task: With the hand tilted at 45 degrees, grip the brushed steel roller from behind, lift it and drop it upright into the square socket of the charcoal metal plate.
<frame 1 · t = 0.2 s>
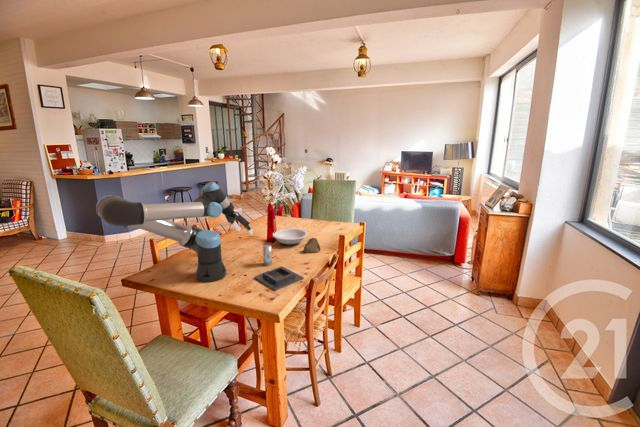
hand: (245, 231, 182), 15 cm above the table, tool tilted 35°, fingers open, 13 cm apart
socket plate: (279, 278, 156), on the table
steel roller: (267, 264, 173), on the table
rock: (311, 251, 193), on the table
soup bowl: (290, 242, 209), on the table
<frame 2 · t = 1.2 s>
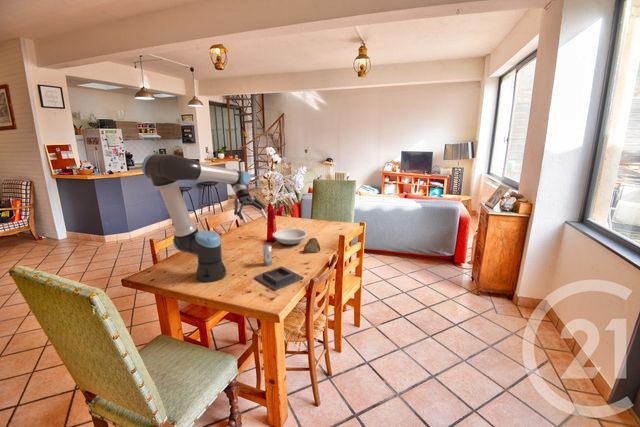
hand: (256, 221, 175), 24 cm above the table, tool tilted 45°, fingers open, 13 cm apart
nothing on the table moved.
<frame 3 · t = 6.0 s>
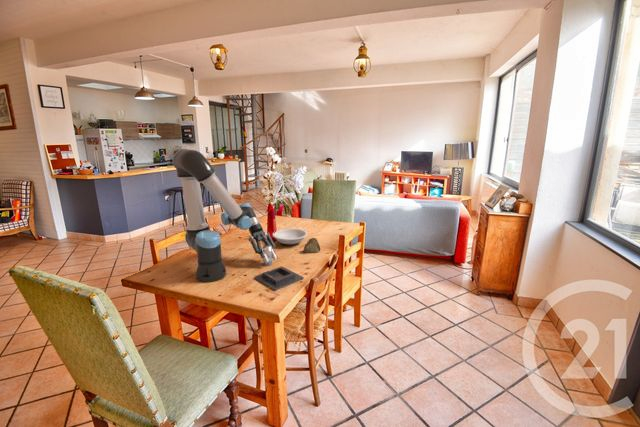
hand: (271, 260, 170), 3 cm above the table, tool tilted 45°, fingers closed on steel roller, 5 cm apart
steel roller: (267, 264, 173), on the table, touching gripper
everything else where it was.
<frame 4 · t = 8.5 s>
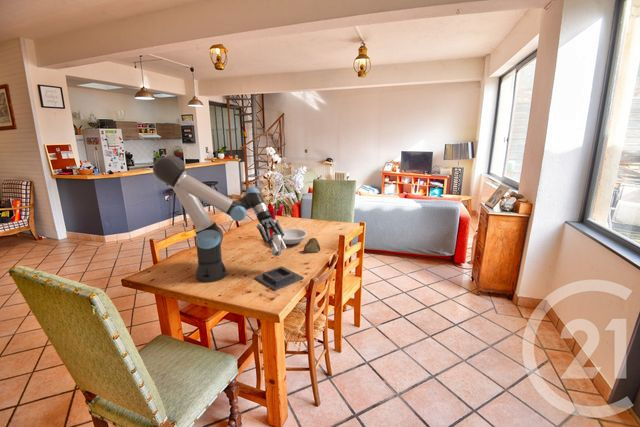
hand: (280, 250, 159), 13 cm above the table, tool tilted 40°, fingers closed on steel roller, 5 cm apart
steel roller: (276, 253, 163), point 10 cm above the table, touching gripper
everything else where it was.
when the fingers open (6 cm above the table, at t = 11.1 s): steel roller drops 1 cm, resting on socket plate.
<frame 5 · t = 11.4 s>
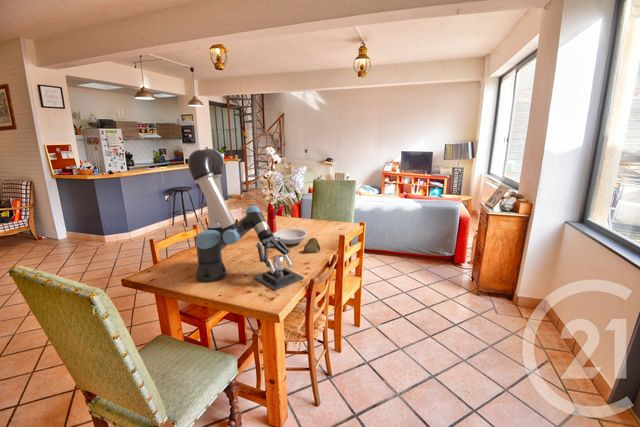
hand: (282, 268, 152), 6 cm above the table, tool tilted 45°, fingers open, 10 cm apart
steel roller: (278, 276, 156), point 1 cm above the table, touching socket plate
everything else where it was.
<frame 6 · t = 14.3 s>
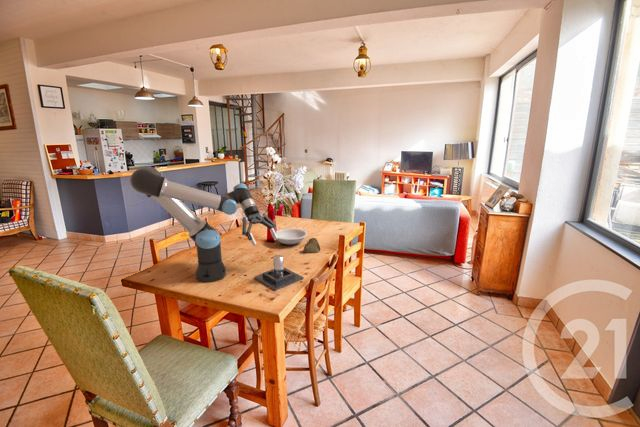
hand: (265, 242, 159), 17 cm above the table, tool tilted 45°, fingers open, 13 cm apart
nothing on the table moved.
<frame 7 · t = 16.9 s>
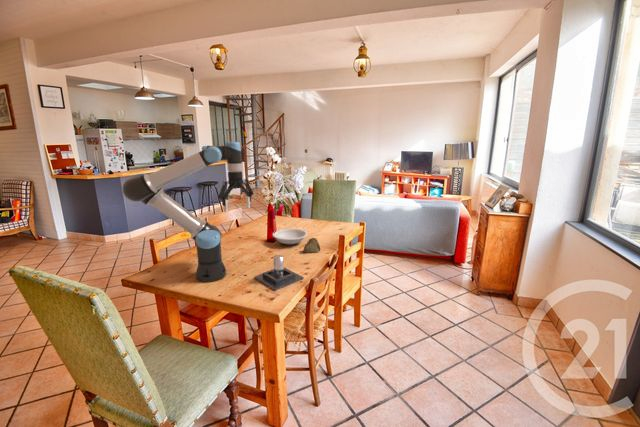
hand: (237, 209, 168), 32 cm above the table, tool pointing down, fingers open, 13 cm apart
nothing on the table moved.
at the end: steel roller 0.1 cm off-centre on the socket plate, point 1.0 cm above the socket plate's base; steel roller tilted 1°; the gripper is holding nothing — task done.
